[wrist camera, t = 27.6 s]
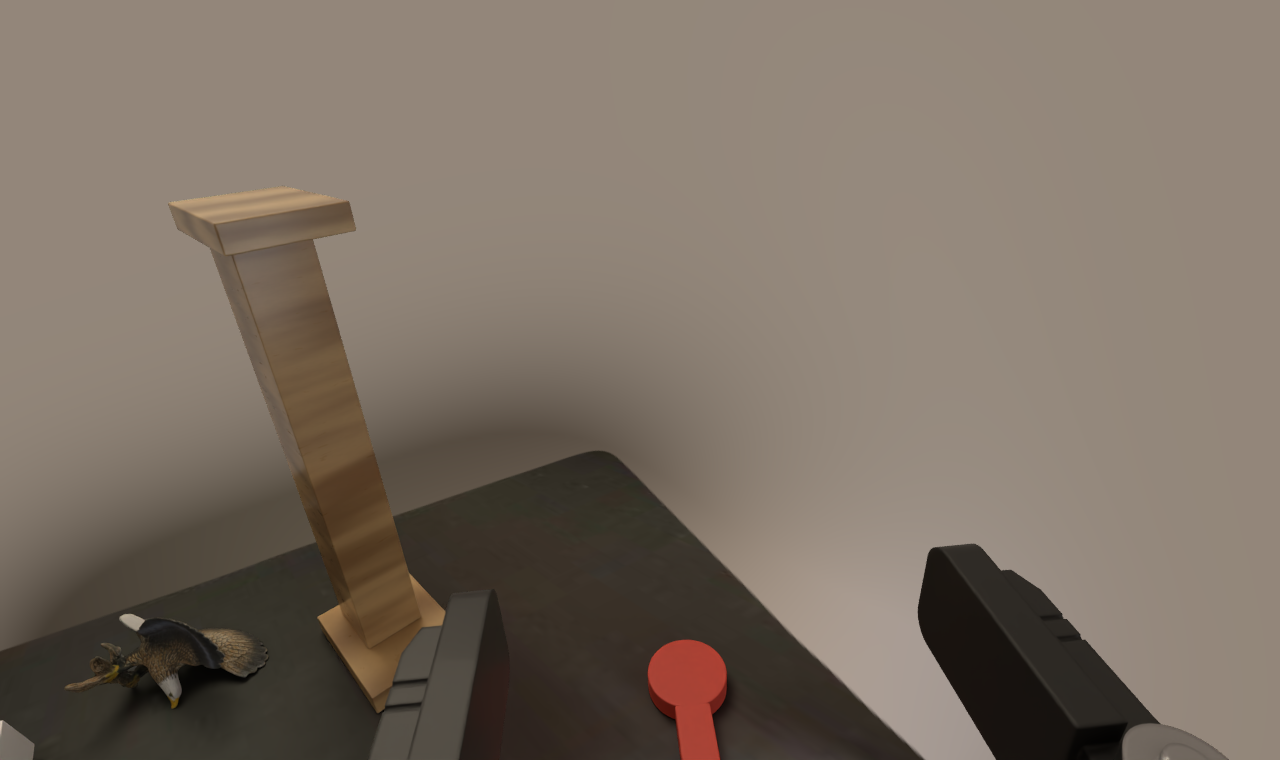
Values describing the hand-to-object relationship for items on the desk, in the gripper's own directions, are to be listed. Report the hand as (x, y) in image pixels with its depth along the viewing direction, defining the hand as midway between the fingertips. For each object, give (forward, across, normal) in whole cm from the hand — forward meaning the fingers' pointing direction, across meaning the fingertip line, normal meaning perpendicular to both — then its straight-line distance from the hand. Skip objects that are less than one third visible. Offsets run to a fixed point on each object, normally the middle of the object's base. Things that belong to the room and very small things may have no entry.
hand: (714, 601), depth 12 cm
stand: (+26, +19, +28) cm, 43 cm away
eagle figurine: (+24, +33, +28) cm, 50 cm away
